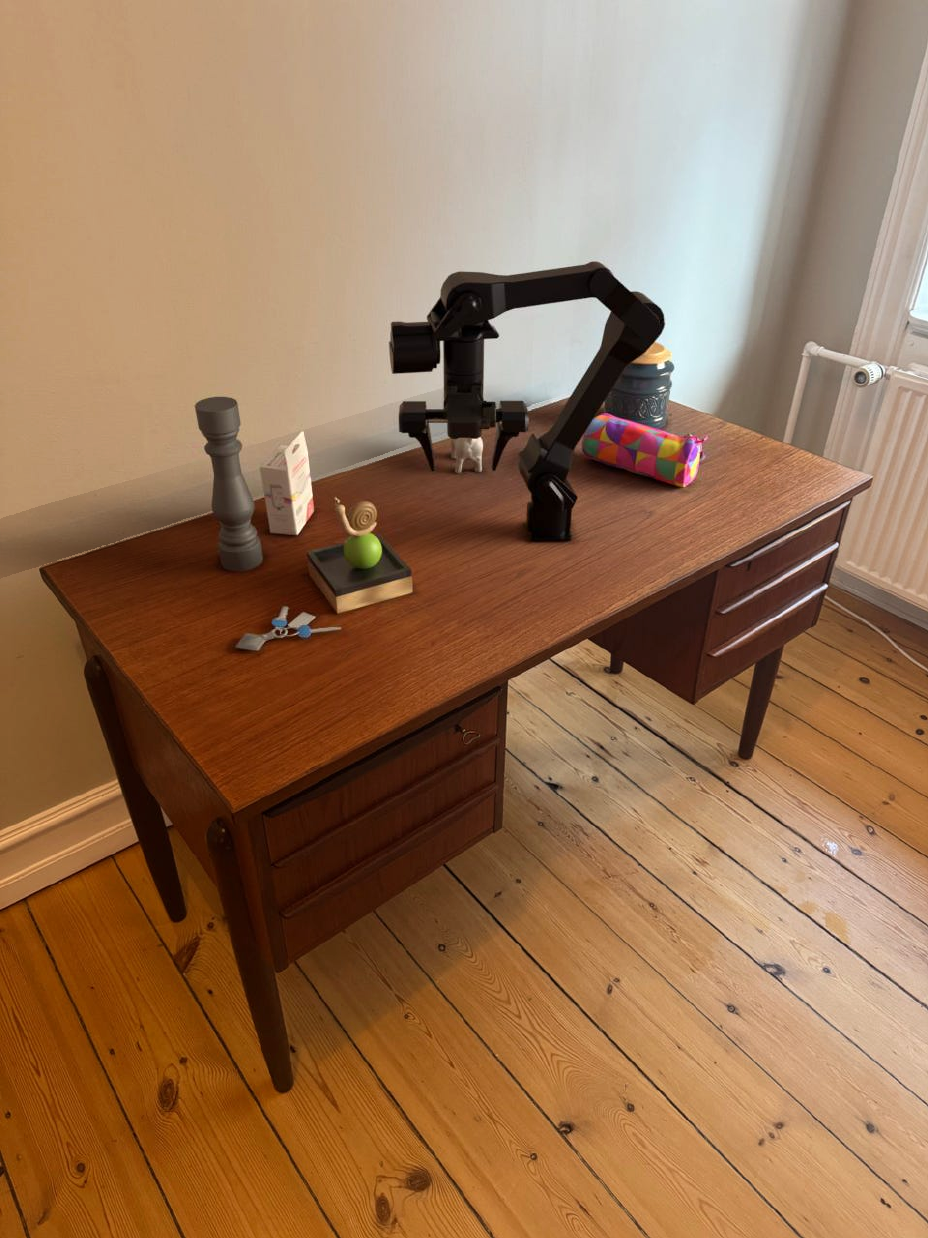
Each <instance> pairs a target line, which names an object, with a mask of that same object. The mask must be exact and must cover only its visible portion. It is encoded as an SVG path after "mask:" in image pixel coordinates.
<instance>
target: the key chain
mask: <svg viewBox="0 0 928 1238" xmlns="http://www.w3.org/2000/svg"><path fill="white" fill-rule="evenodd" d="M288 610H290V608H289V606H286V605H285V606H281V610H280V612H279V615H278V617H275V618H273V619H271V625H272V626H273V627H274V628H273V629H272V630H271V631H270V632H267V633H263V634H255V633H249V632H248V633H247V632H246V633H244V634H243V636H242V637H241V638H240V639H239V641H238V642H237V644H236V645H235V648H236V649H242V650H248V651H253V652H254V651H255V652H259V651H260V650H261V648H262V646H263V645H264V643H265V642H267V641H269V640H273V639H283V638H285V637H292V636H296V635H297V636H298V637H299V638H301V639H307V638H309V637H310V636H311V634H316V633H321V632H322V633H325V632H332V631H340V630H342V626H330V627H329V626H328V627H319V628H311V627H310V625H309V624H310V623H311V622H312V621H313V620H315V618H316V616H314V615H312V614H309V613H307V612H304V611H302V612H301V613H300V614H299V615H298V616H297V617H295V618H294V619H293V620H291V621H290V622H289V623H288V620H287V616H288V613H289V611H288ZM286 625H287V626H288V627H286ZM288 629H294V630H296V632H295V633H292V634H289V635H288V632H289V631H288ZM276 631H279V634H280V635H277V634H276ZM283 631H284V633H283V634H282V632H283Z"/></svg>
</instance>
